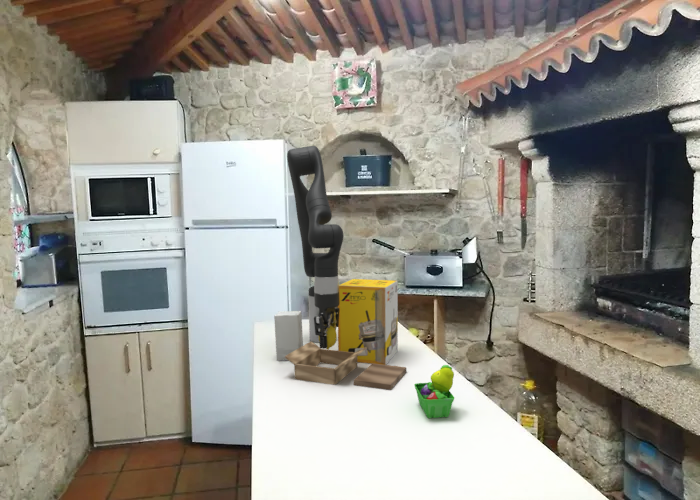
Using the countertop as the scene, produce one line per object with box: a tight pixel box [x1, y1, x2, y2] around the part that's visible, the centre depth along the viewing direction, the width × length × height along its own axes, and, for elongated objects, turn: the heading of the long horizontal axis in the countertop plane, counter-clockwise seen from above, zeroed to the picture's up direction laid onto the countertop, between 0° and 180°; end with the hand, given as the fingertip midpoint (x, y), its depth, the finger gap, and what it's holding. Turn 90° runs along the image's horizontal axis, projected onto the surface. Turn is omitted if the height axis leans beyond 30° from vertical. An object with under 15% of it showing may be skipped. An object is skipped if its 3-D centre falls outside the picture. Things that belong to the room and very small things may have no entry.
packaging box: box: [337, 278, 399, 365], centre depth 168 cm, size 16×16×25 cm
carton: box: [285, 341, 367, 386], centre depth 151 cm, size 17×20×7 cm
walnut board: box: [353, 363, 407, 391], centre depth 146 cm, size 16×11×2 cm
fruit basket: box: [414, 364, 455, 419], centre depth 122 cm, size 11×9×11 cm
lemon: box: [318, 325, 338, 350], centre depth 151 cm, size 6×6×8 cm
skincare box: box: [273, 310, 304, 362], centre depth 166 cm, size 8×7×16 cm
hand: (327, 345), depth 151 cm, fingers closed on lemon, 5 cm apart
